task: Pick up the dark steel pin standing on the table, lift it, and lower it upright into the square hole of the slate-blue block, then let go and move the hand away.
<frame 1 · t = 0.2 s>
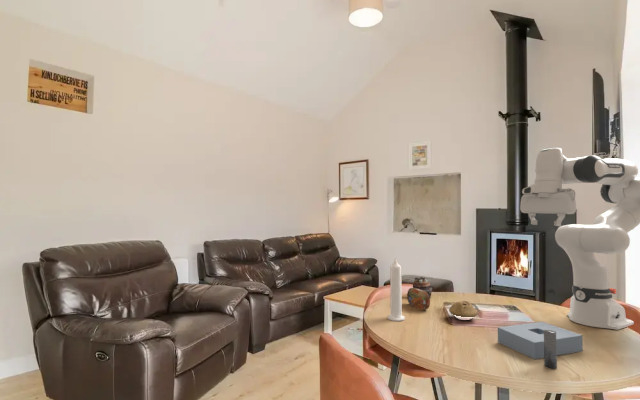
hand: (545, 225, 131), 39 cm above the table, tool pointing down, fingers open, 8 cm apart
oil lamp: (463, 318, 143), on the table
candle: (396, 319, 142), on the table
hole block: (539, 346, 113), on the table
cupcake: (422, 297, 177), on the table
peg: (550, 366, 98), on the table
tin: (418, 308, 158), on the table
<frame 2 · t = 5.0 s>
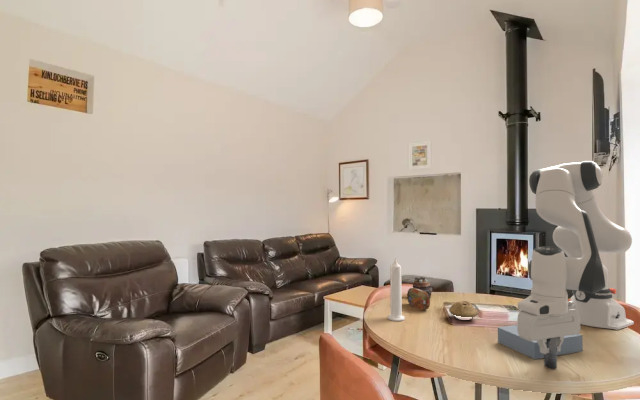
hand: (550, 352, 99), 4 cm above the table, tool pointing down, fingers closed on peg, 3 cm apart
peg: (550, 366, 98), on the table, touching gripper
everything else where it was.
when the fingers open (7 cm above the table, at t = 11.2 s): peg drops 2 cm, resting in hole block.
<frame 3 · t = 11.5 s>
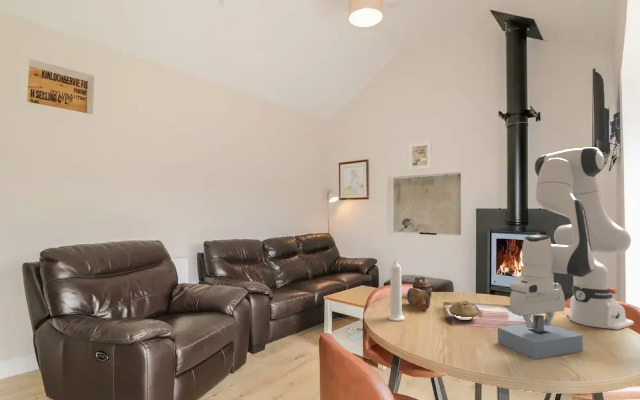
hand: (538, 326, 113), 7 cm above the table, tool pointing down, fingers open, 6 cm apart
peg: (538, 346, 113), resting in hole block
everything else where it was.
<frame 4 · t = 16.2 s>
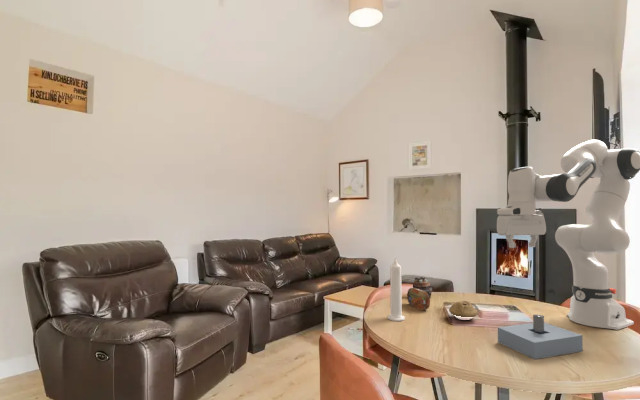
hand: (522, 247, 127), 31 cm above the table, tool pointing down, fingers open, 8 cm apart
nothing on the table moved.
at the end: peg 0.0 cm off-centre on the hole block, point 0.0 cm above the hole block's base; peg tilted 0°; the gripper is holding nothing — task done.
